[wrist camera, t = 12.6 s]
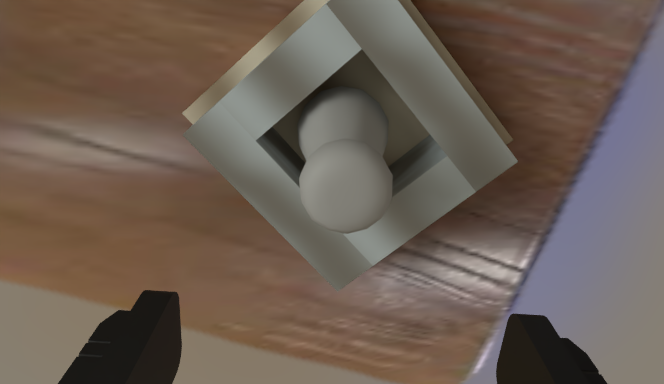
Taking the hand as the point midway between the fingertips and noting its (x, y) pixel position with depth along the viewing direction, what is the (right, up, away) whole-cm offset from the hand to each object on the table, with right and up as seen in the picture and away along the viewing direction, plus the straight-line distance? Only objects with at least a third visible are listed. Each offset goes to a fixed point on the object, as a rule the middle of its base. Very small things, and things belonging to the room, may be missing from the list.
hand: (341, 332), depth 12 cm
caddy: (+1, +8, +23) cm, 24 cm away
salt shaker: (0, +8, +22) cm, 23 cm away
